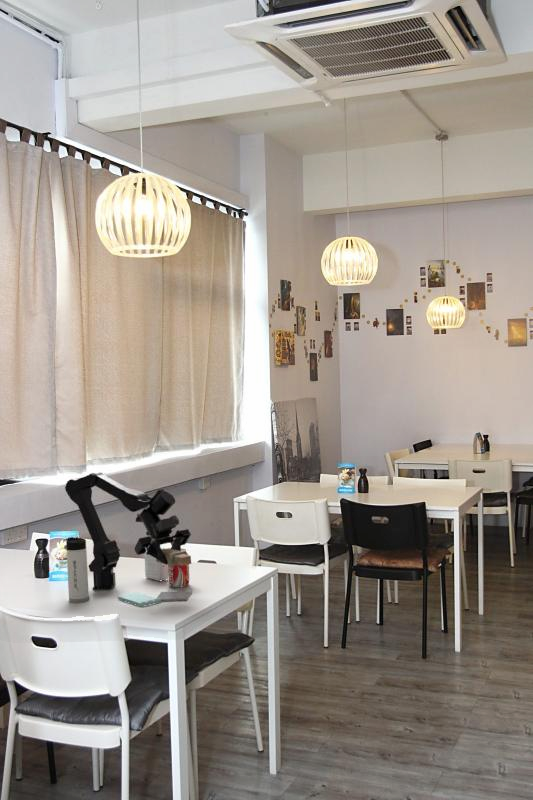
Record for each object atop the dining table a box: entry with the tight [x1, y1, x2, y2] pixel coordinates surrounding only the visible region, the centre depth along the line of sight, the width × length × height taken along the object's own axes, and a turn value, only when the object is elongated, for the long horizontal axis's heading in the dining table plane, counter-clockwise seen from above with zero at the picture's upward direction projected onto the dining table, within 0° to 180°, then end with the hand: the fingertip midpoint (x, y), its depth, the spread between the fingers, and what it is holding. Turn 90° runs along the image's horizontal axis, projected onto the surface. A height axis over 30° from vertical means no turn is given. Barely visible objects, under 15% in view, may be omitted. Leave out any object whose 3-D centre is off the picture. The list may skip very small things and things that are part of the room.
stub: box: [156, 547, 192, 566], centre depth 268 cm, size 4×5×14 cm
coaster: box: [156, 590, 193, 602], centre depth 270 cm, size 10×10×1 cm
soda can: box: [168, 548, 190, 588], centre depth 285 cm, size 7×7×12 cm
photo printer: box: [144, 544, 169, 582], centre depth 297 cm, size 10×4×12 cm, turn 41°
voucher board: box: [117, 591, 162, 607], centre depth 267 cm, size 14×7×1 cm, turn 41°
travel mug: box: [65, 536, 90, 603], centre depth 272 cm, size 6×7×20 cm
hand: (174, 562), depth 268 cm, fingers closed on stub, 5 cm apart
